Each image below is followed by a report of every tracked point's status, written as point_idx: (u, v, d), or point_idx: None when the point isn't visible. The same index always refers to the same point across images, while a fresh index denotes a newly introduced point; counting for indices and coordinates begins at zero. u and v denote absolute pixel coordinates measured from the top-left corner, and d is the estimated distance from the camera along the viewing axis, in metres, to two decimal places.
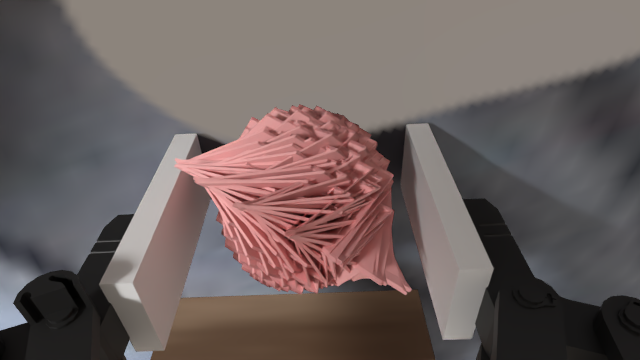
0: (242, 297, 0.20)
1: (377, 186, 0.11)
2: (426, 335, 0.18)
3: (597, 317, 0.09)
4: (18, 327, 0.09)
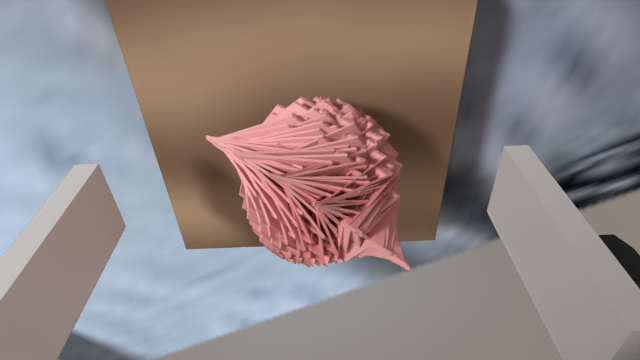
0: None
1: (389, 172, 0.13)
2: None
3: None
4: None
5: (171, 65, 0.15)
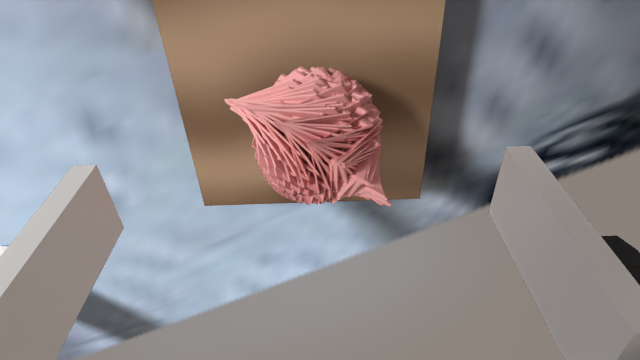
0: None
1: (370, 123, 0.16)
2: None
3: None
4: None
5: (198, 40, 0.18)
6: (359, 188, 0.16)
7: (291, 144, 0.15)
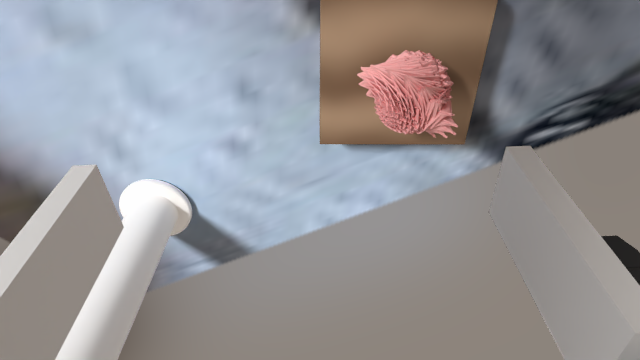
0: None
1: (449, 83, 0.27)
2: None
3: None
4: None
5: (342, 31, 0.29)
6: (439, 122, 0.28)
7: (408, 91, 0.26)
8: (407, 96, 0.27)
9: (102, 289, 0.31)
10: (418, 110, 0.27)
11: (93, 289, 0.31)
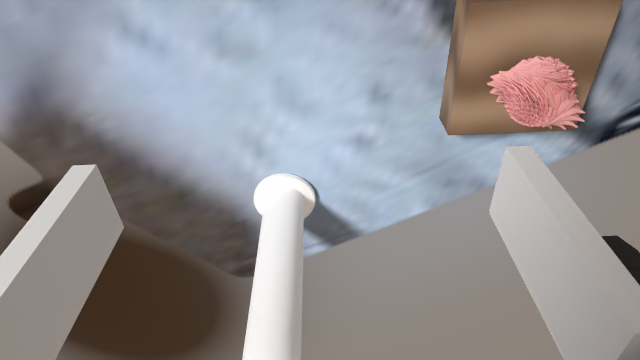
0: None
1: None
2: None
3: None
4: None
5: (483, 38, 0.34)
6: (566, 117, 0.33)
7: (546, 92, 0.31)
8: (543, 96, 0.32)
9: (279, 268, 0.37)
10: (552, 108, 0.32)
11: (272, 268, 0.37)
